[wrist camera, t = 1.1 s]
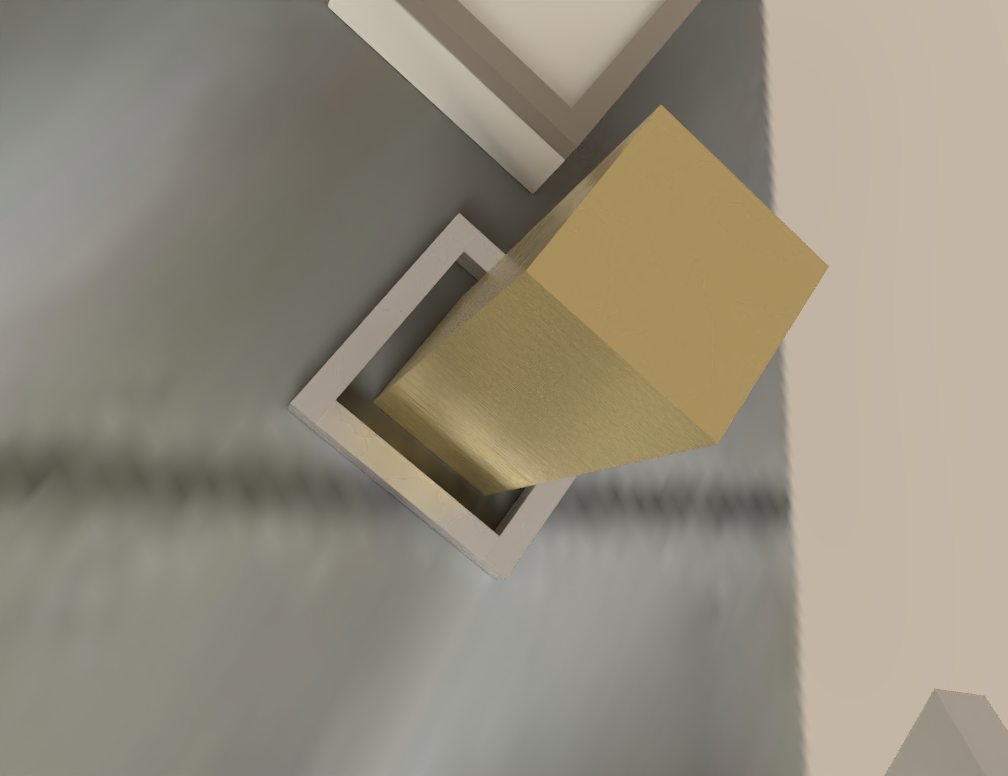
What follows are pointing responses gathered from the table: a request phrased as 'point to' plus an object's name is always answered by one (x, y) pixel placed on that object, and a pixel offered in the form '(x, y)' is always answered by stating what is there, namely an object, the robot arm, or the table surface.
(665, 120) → the block
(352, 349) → the jamb socket
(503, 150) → the white square tray
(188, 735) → the table surface
